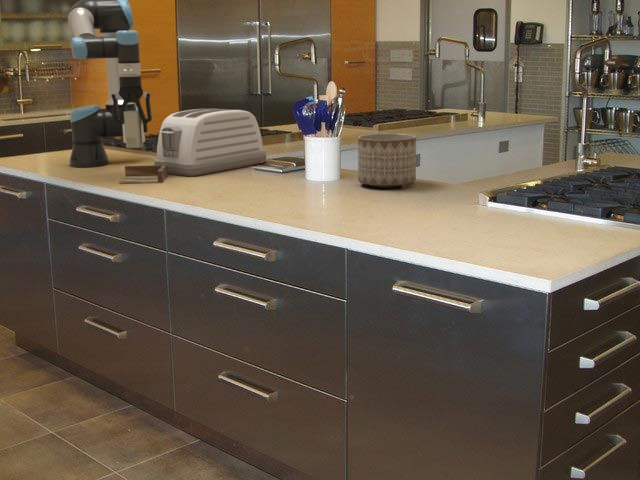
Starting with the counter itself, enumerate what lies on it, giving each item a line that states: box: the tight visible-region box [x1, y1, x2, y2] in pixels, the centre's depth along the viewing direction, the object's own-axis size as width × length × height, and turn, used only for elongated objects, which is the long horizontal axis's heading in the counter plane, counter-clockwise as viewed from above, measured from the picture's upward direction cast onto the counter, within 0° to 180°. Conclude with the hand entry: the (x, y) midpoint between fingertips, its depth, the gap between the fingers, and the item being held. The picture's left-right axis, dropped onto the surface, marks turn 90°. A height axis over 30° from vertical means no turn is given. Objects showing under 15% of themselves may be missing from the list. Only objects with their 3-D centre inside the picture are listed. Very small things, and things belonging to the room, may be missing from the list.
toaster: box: [153, 107, 267, 177], centre depth 342 cm, size 23×45×22 cm, turn 142°
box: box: [124, 111, 144, 149], centre depth 314 cm, size 5×4×13 cm
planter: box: [357, 132, 417, 189], centre depth 297 cm, size 19×19×16 cm
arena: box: [118, 164, 168, 185], centre depth 319 cm, size 15×15×4 cm
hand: (134, 141), depth 315 cm, fingers closed on box, 6 cm apart
